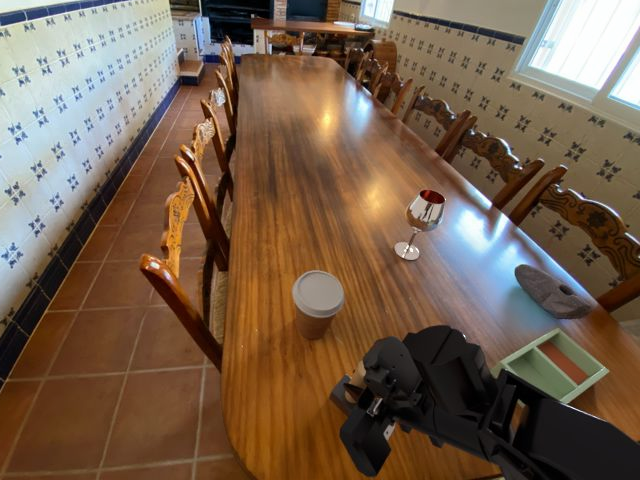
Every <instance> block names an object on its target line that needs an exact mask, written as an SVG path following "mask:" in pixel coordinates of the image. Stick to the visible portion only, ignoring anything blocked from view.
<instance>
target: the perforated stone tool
mask: <svg viewBox="0 0 640 480" xmlns="http://www.w3.org/2000/svg"><path fill="white" fill-rule="evenodd" d="M514 277H515V279H516V282H517V283H518V285H519V286H520V287H521V288H522V290H524V291H525V292H526V293H527V294H528V295H529V297H530V298H531V299H533V301H535V303H537V304H538V306H540V308H542V309H543V310H545V311H547V312H549V313H550V314H551V315H552V316H553V317H554V318H555V319H556V320H579V319H583V318H584V317H588V316H589V314H590V313H592V312H593V311H594V308H593V307H592V305H591V304H590V303H588V301H586V300H585V299H584V298H583V297H582V296H581V295H579V294H578V292H576V291H575V290H573V289H572V288H571V287H570V286H568V285H567V284H566V283H564V282H562V281H561V280H559V279H558V278H557V277H554V276H553V275H551V274H549V273H548V272H546V271H545V270H542V269H541V268H538V267H537V266H534V265H530V264H527V263H525V264H524V263H521V264H519V265H517V266H515V268H514Z"/></svg>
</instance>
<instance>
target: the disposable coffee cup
mask: <svg viewBox="0 0 640 480" xmlns="http://www.w3.org/2000/svg"><path fill="white" fill-rule="evenodd" d="M291 293H292V295H291V296H292V299H293V302H294V308H295V309H294V310H295V311H294V312H295V323H296V324H295V325H296V329H297V331H298V333H299V334H300V335H301V336H302V337H304V338H306V339H308V340H319V339H320V338H321V339H322V337H324V336H325V334H326V332H327V331H328V329H329V327H330V326H331V324H332V322H333V320H334V318H335V317H336V315H337V313H339V312H340V311H341V310H342V309H343V307H344V304H345V301H346V295H345V289H344V288H343V285H342V283H341V282H340V280H339V279H338V278H337V277H336V276H335V275H334V274H332V273H329V272H328V271H324V270H317V269H313V270H309V271H306V272H304V273H302V275H300V276H299V277H298V278H297V279H296V281H295V282H294V284H293V286H292V291H291Z"/></svg>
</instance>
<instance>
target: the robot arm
mask: <svg viewBox="0 0 640 480" xmlns="http://www.w3.org/2000/svg"><path fill="white" fill-rule="evenodd" d="M362 360H363V365H364V369H365V371H366V374H365V376H364V377H363V381H364V383H365V384H366V385H367V387H366V388H365V389H363V388H360V387H357V386H355V385H352V384H349V383H344V384H343V386H344V388H345V390H346V391H347V392H348V393H349V395H350V396H351V397H352V398H353V399H354V400H355V402H356V403H357V407H358V409H357V410H354V411H352V412H351V414H350V415H349V416H348V417H346V419H345V421H344V422H343V423H342V424H341V426H340V428H339V433H338V434H339V435H338V437H339V439H340V441H341V442H342V444H343V446H344V448H345V450H346V451H347V454H348V456H349V457H350V459H351V461H352V462H353V465H354V466H355V468H356V471H358V472H359V473H360V474H362V475H363V476H365V477H366V478H370V479H374V478H376V477H378V475H379V473H380V471H381V470H382V468H383V466H384V465H385V463H386V461H387V459H388V457H389V456H390V454H391V452H392V447H391V446H390V443H389V442H388V441H389V440H390V438H391V436H392V434H393V432H394V431H395V429H396V423H397V424H398V426H399V428H400V429H401V431H402V432H404V433H406V434H408V435H410V433H411V431H412V430H414V431H416V432H418V433H420V434H423V435H425V436H427V437H428V439H429V440H430V443H431V444H432V446H434V447H436V448H438V449H442V447H443V445H444V444H446V445H448V446H451V447H452V448H455V449H457V450H460V451H463V452H464V453H467V454H469V455H471V456H473V457H476V458H478V459H481V460H483V461H484V462H487V463H490V464H492V465H494V466H497V467H498V468H499V470H500V472H501V475H502V477H503V479H504V480H640V443H639V442H638V441H636V440H635V439H633V438H632V437H631V436H629V435H628V434H627V433H625V432H624V431H623V430H622V429H620V428H619V427H617V426H616V425H615V424H613V423H611V422H609V421H608V420H605V419H602V418H600V417H598V416H595V415H593V414H590V413H588V412H586V411H583V410H581V409H578V408H575V407H573V406H570V405H568V404H567V405H566V404H564V403H563V402H561V401H559V400H557V399H556V398H554V397H552V396H551V395H549V394H547V393H546V392H544V391H542V390H541V389H539V388H537V387H536V386H534V385H532V384H530V383H529V382H527V381H525V380H524V379H522V378H520V377H519V376H517V375H515V374H514V373H512V372H510V371H509V370H507V369H504V368H501V370H500V372H499V375H498V377H497V379H496V378H495V377H494V376H493V375H492V374H491V372H490V370H491V369H490V368H489V365H488V363H487V360H486V355H485V353H484V351H483V349H482V347H481V345H480V344H478V343H473V342H468V340H467V338H466V336H465V335H464V333H463V332H462V331H460V330H459V329H457V328H455V327H452V326H451V325H447V324H437V325H431V326H428V327H424V328H423V329H421V330H419V331H418V332H408V333H407V334H406V335H405V337H404V338H403V339H402V340H401V339H400V338H399V337H398V336H396V335H390V336H387V337H382V338H378V339H376V340H375V341H374V342H373V344H372V346H371V347H370V348H369V350H368V351H366V353H365V354H364V355H363V356H362ZM355 370H356V369H353V371H352V373H353V374H354V372H355ZM518 399H519V400H520V401H521V402H522V403H524V404H525V406H524V407H523V408H522V411H521V413H520V417H519V421H518V424H517V427H516V430H515V428H514V426H513V424H512V421H513V418H514V414H515V411H516V408H517V405H518V403H517V402H518Z"/></svg>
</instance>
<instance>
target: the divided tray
mask: <svg viewBox="0 0 640 480" xmlns="http://www.w3.org/2000/svg"><path fill="white" fill-rule="evenodd" d="M501 368H504V369H507V370H509V371H510V372H512V373H514V374H515V375H517V376H519V377H520V378H522V379H524V380H525V381H527V382H529V383H530V384H532V385H534V386H536V387H537V388H539V389H541V390H542V391H544V392H546V393H547V394H549V395H551V396H552V397H554V398H556V399H557V400H559V401H561V402H563V403H564V404H566V405H568V404H569V403H571V402H572V401H573V400H575V399H576V398H577V397H578V396H580V395H581V394H583V393H584V392H585V391H587V389H589V388H590V387H592V386H593V385H594V384H596V383H597V382H598V381H599V380H602V378H604V377H605V376H606V375H607V374H609V373H610V370H609V369H608V368H606V367H605V366H604V365H603V364H602V363H601V362H599V361H598V359H596V358H595V357H594V356H592V355H591V354H590V353H589V352H588V351H586V350H585V349H584V348H583V347H582V346H580V345H579V344H578V343H577V342H576V341H575V340H574V339H572V338H571V337H570V336H569V335H567V334H566V333H565V332H563V330H561V329H560V328H559V327H556V328H553V329H552V330H551V331H549V332H547V333H546V334H544V335H542V336H541V337H539V338H537V339H535V340H534V341H532V342H530V343H529V344H527V345H525V346H523V347H522V348H520V349H519V350H517V351H515V352H513V353H512V354H510V355H509V356H507V357H505V358H503V359H502V360H500V361H499V362H498V363H496V364H495V365H494V366H493V367H492V368H491V369H489V370H490V372H491V374H492V376H493V378H496V379H497V377H498V375H499V372H500V370H501ZM517 405H519V406H520V407H521V409H523V407H524V406H525V404H524V403H522V402H521V401H520V400H519V399H518V402H517Z"/></svg>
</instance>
